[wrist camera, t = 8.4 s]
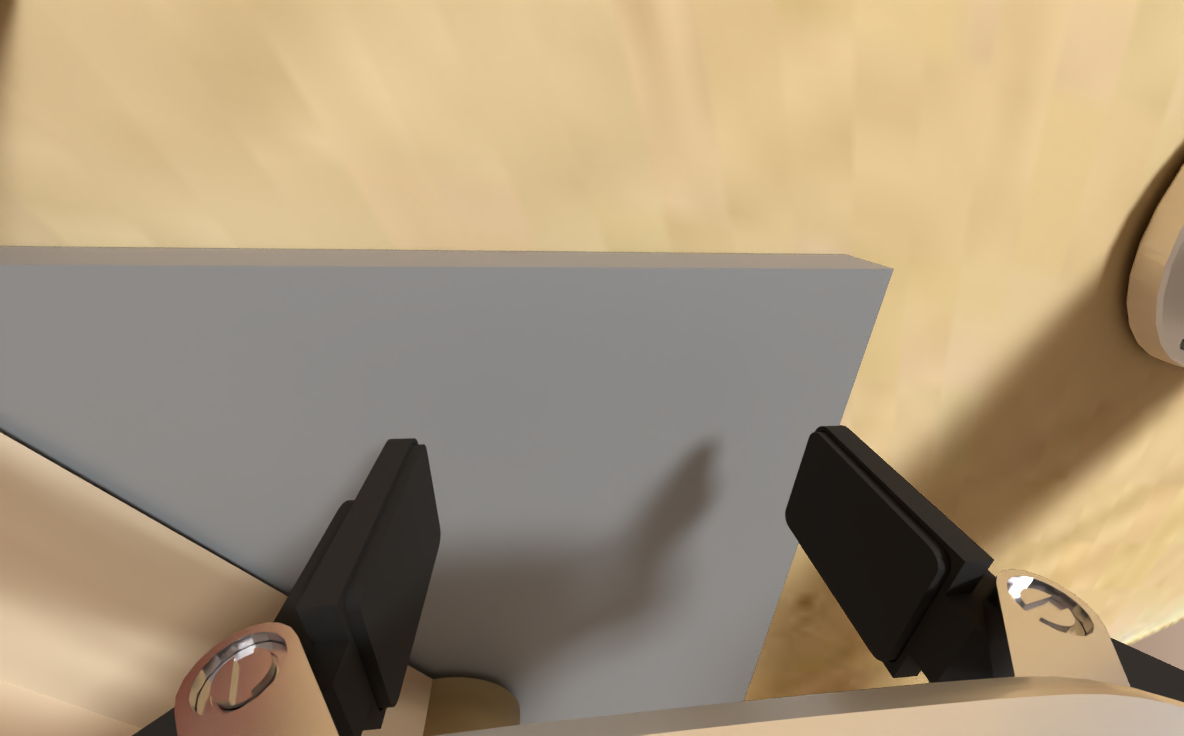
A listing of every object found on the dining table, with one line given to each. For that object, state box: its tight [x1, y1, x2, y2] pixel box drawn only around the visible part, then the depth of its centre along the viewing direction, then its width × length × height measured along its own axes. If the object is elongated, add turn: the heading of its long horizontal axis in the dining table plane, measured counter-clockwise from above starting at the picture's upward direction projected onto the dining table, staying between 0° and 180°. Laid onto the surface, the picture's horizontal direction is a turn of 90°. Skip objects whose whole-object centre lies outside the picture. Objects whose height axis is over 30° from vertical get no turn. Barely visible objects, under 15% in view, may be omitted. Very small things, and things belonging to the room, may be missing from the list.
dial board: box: [0, 246, 893, 725], centre depth 16 cm, size 28×24×2 cm
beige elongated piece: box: [0, 433, 520, 736], centre depth 12 cm, size 6×21×5 cm, turn 33°
